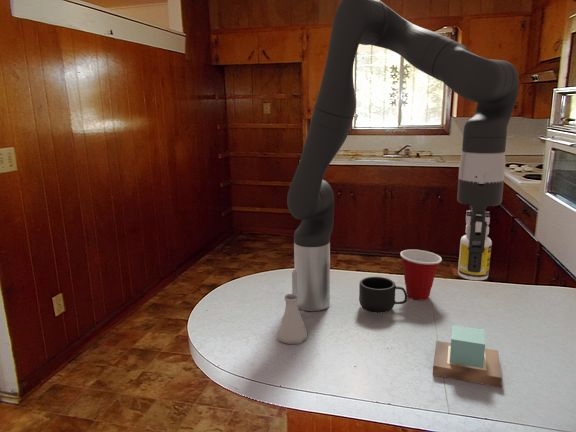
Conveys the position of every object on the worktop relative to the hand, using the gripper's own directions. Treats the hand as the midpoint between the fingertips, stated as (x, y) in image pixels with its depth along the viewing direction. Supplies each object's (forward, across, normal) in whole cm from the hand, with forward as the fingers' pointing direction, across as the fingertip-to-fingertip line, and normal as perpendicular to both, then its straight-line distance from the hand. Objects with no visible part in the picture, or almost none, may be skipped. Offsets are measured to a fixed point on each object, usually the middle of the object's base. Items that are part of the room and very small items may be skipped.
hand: (473, 265), depth 84 cm
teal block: (+19, 0, 0) cm, 19 cm away
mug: (+22, -21, -20) cm, 36 cm away
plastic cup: (+22, -32, -12) cm, 40 cm away
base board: (+21, 0, 0) cm, 21 cm away
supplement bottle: (+2, 0, 0) cm, 2 cm away
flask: (+22, 0, -37) cm, 43 cm away
